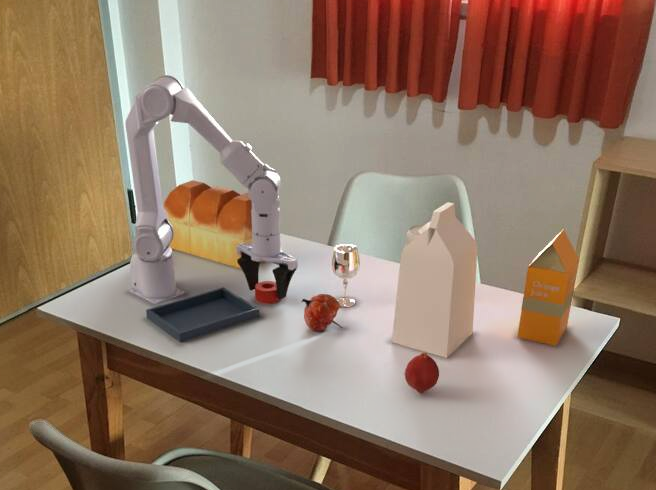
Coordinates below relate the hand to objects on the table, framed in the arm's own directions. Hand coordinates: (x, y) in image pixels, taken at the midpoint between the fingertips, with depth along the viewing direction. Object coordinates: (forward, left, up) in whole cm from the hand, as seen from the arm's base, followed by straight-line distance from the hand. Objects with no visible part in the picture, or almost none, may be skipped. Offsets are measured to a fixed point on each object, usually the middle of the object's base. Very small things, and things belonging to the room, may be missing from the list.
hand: (267, 293), depth 173 cm
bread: (-28, +12, -2) cm, 31 cm away
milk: (+36, +11, -2) cm, 37 cm away
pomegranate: (+18, -1, -2) cm, 18 cm away
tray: (-2, -15, -2) cm, 16 cm away
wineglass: (+13, +11, -2) cm, 16 cm away
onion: (+47, -7, -2) cm, 47 cm away
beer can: (+22, +24, -2) cm, 32 cm away
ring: (0, 0, -2) cm, 2 cm away
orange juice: (+50, +28, -2) cm, 57 cm away
